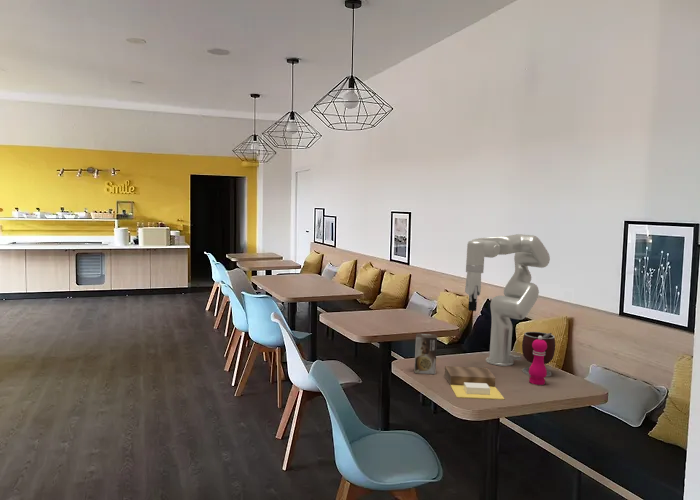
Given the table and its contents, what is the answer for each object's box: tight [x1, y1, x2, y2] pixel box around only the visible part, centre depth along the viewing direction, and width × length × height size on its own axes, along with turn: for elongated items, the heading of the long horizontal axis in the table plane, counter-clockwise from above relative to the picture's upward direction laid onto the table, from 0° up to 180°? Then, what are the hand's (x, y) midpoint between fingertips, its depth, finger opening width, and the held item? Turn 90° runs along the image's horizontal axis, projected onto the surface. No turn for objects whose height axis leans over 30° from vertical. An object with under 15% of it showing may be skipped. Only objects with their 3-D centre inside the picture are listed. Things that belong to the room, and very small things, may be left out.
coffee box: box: [413, 333, 438, 375], centre depth 240 cm, size 9×6×16 cm
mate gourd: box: [521, 331, 556, 378], centre depth 244 cm, size 16×14×20 cm
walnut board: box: [444, 365, 496, 387], centre depth 229 cm, size 18×14×4 cm
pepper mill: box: [528, 336, 548, 386], centre depth 230 cm, size 7×7×20 cm
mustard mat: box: [449, 384, 506, 401], centre depth 215 cm, size 18×14×1 cm
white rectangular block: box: [463, 382, 490, 395], centre depth 215 cm, size 9×6×2 cm, turn 89°
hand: (472, 310), depth 242 cm, fingers closed
